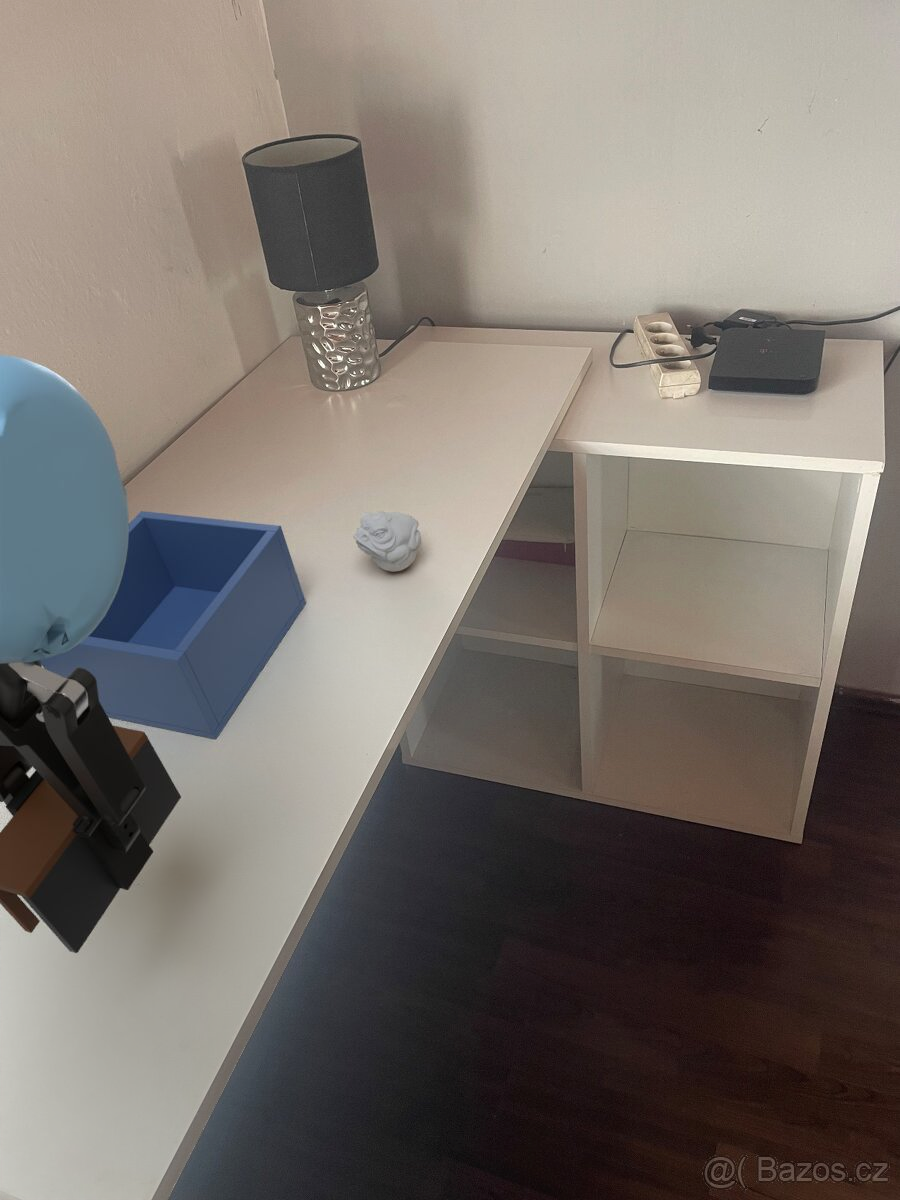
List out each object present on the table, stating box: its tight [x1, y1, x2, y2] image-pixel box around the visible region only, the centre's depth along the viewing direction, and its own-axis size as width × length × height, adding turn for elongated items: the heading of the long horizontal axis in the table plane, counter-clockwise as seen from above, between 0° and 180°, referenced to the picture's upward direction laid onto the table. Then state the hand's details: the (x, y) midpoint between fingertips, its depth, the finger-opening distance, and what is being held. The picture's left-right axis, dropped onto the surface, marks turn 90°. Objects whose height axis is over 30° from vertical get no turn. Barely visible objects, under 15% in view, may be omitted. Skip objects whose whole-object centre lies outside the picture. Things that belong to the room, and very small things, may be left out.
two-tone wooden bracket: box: [0, 725, 182, 954], centre depth 51 cm, size 4×11×7 cm, turn 160°
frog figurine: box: [352, 510, 422, 572], centre depth 88 cm, size 6×7×7 cm
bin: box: [40, 510, 307, 740], centre depth 81 cm, size 18×16×10 cm
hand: (103, 860), depth 53 cm, fingers closed on two-tone wooden bracket, 4 cm apart
